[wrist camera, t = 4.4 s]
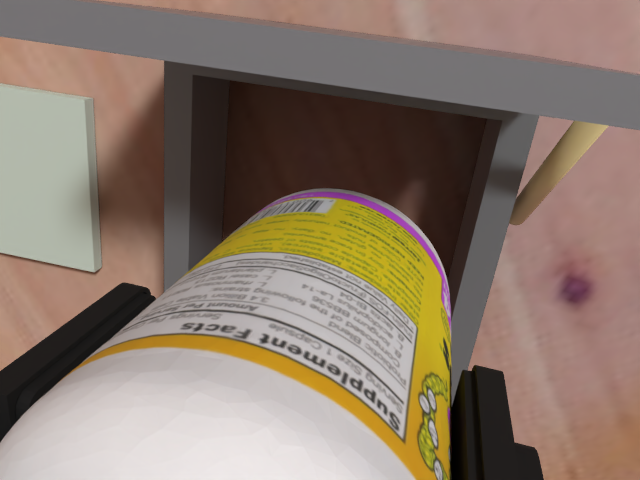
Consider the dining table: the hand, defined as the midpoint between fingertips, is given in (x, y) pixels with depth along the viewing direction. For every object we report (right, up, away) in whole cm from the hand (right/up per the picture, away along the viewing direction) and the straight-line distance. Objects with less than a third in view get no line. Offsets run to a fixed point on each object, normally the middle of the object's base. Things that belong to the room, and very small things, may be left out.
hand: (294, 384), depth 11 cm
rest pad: (-13, +6, +13) cm, 19 cm away
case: (+1, +4, +10) cm, 11 cm away
